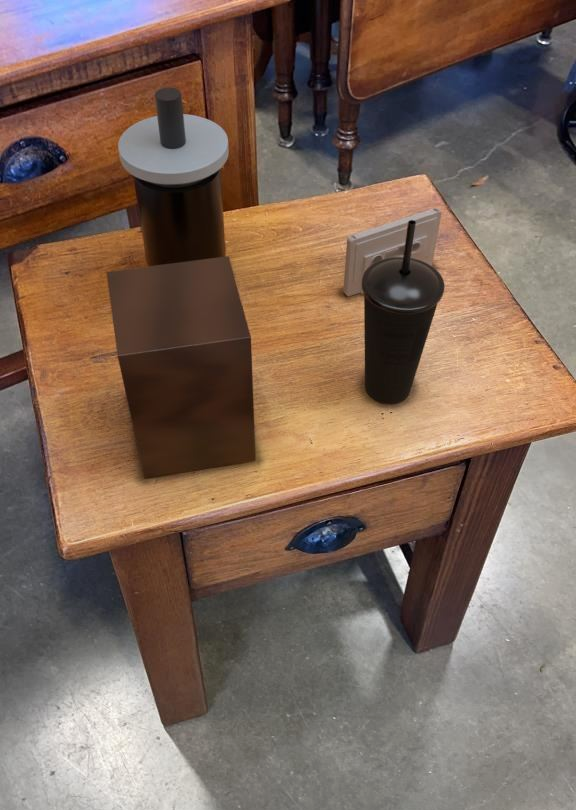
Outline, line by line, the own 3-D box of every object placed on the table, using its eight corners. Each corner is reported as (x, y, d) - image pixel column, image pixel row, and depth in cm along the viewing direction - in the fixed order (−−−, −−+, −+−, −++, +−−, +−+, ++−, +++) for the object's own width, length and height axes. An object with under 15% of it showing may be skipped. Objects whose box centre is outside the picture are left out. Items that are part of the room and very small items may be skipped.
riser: (144, 478, 80) (117, 356, 67) (132, 397, 86) (106, 271, 73) (255, 460, 81) (251, 337, 68) (236, 382, 88) (228, 255, 75)
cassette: (348, 300, 96) (353, 243, 89) (340, 290, 97) (344, 234, 90) (434, 269, 99) (445, 213, 93) (426, 260, 100) (435, 204, 94)
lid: (125, 190, 82) (115, 129, 77) (115, 130, 88) (105, 71, 83) (237, 177, 83) (234, 117, 78) (219, 119, 89) (215, 60, 84)
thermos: (154, 306, 95) (134, 183, 82) (145, 257, 100) (125, 134, 88) (233, 295, 96) (226, 172, 83) (220, 247, 101) (211, 125, 89)
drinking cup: (424, 365, 89) (455, 199, 73) (423, 417, 85) (457, 252, 69) (353, 359, 90) (369, 193, 74) (349, 411, 85) (365, 246, 69)
